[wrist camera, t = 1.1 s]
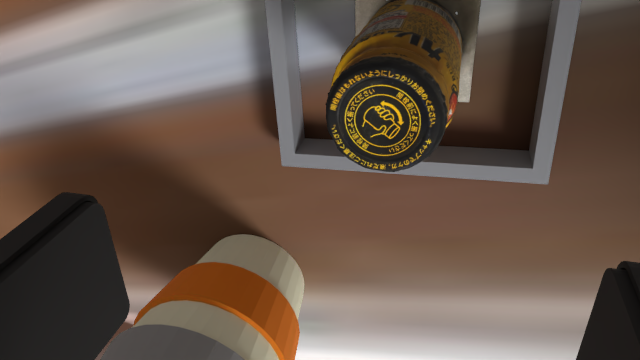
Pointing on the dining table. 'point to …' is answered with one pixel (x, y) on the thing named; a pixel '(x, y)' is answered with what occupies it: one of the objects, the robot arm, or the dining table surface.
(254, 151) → the dining table surface
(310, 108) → the dining table surface
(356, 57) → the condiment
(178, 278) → the reusable coffee cup
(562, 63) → the square frame
